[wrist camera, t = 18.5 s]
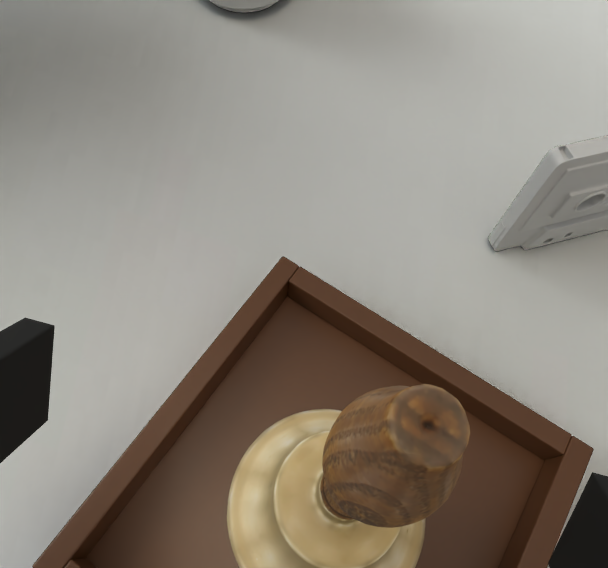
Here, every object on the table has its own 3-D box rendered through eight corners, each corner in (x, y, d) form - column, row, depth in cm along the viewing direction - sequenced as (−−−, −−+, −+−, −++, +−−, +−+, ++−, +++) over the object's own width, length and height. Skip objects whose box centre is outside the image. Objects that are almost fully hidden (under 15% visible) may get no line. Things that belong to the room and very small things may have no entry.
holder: (56, 564, 21) (30, 567, 19) (282, 279, 28) (282, 255, 25) (396, 858, 18) (415, 904, 16) (564, 457, 24) (595, 448, 22)
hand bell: (226, 415, 24) (157, 216, 9) (407, 404, 24) (601, 203, 10) (227, 634, 20) (117, 862, 6) (440, 614, 21) (821, 772, 6)
